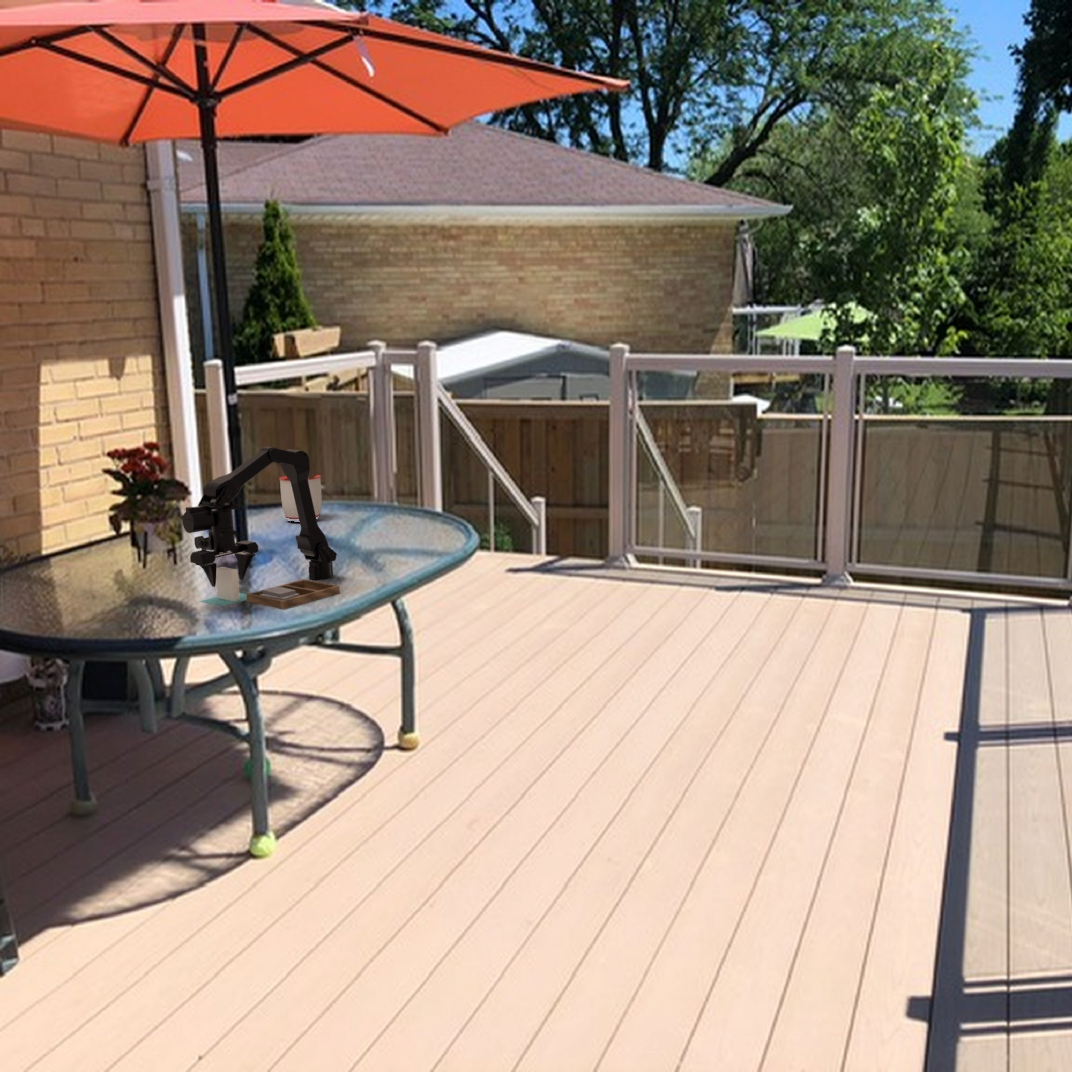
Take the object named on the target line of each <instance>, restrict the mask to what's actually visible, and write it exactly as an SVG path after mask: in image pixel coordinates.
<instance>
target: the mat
mask: <svg viewBox="0 0 1072 1072" xmlns="http://www.w3.org/2000/svg"><path fill="white" fill-rule="evenodd" d="M239 595H240V600H238V601H229V600H225V599H220V598H218V596H215V597H211V598H207V599H204V600H199V602H200V603H204V604H209V605H214V606H218V607H225V606H226V607H227V606H230V605H233V604H237V603H240V602H244V601H245V602H246V601H247V596H246V593H242V592H239Z"/></svg>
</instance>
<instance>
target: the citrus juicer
mask: <svg viewBox="0 0 1072 1072" xmlns="http://www.w3.org/2000/svg"><path fill="white" fill-rule="evenodd" d="M321 477H322V476H321V475H320V474H316V475H315V476H314V477H313V478H309V476H308V483H309V487H310V492H311V496H312V501H313V506H314V510H315V515H316V517H318V516H319V517H320V515H321V510H322V501H323V500H322V499H323V498H322V485H321V483H322V482H321V481H322V480H321ZM279 485H280V486H279V487H280V499H281V506H282V510H283V514H284V517H285V519H286V518H289V519H299V517H298V512H297V508H296V503H295V499H294V495H293V490H292V486H291V482H290V480H289V479H288V478H287V476H286V475H284V476H280V477H279Z"/></svg>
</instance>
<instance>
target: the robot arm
mask: <svg viewBox="0 0 1072 1072" xmlns="http://www.w3.org/2000/svg"><path fill="white" fill-rule="evenodd" d="M273 463H274V464H275V463H276V464H279V465H280V466H281V469H282V471H283V474H284V476H287V478H288V479H289V480H290V482H291V486H292V490H293V495H294V499H295V503H296V508H297V512H298V517H299V521H300V523H299V525H300V531H299V534H297V535H295V540H296V544H297V550H300V551H299V552H300V553H301V554H303V556H304V558H305V560H307V561H308V579H309V580H310V581H315V582H317V581H324V580H329V579H332V578H333V577H334V569H333V568H334V567H333V562H336V559H337V556H338V553H337V552H336V551H334V549H332V548H331V547H330V545H329V542H328V540H327V537H326V535H325V533H324V532H323V531H322V529H321V528H320V527H319V525H318V520H317V519H316V515H315V510H314V506H313V501H312V496H311V492H310V487H309V483H308V477H309V476H310V472H311V459H310V456H309V454H308V453H307V452H306V451H304V450H299V449H291V448H290V449H289V448H288V449H285V450H284V449H279V448H277V447H274V446H263V447H262V448H260V449H259V451H257V452H256V453H255V454H254V455H252V456H251V457H250V458H249V459H247V460H246V461H244V462H243V463H242V464H240V465H239V466H238V467H236V468H234V470H233V471H231V472H229V473H227V474H224V475H221V476H218V477H217V478H215V479H212V480H210V481H209V482H207V484H206V485H205V490H204V493H203V494H202V497H201V498H200V500H199V502H198V504H197V506H196V505H195V506H186V507H185V512H184V514H183V517H182V519H181V522H182V526H183V529H184V531H186V533H188V534H193V533H197V532H203V531H209V532H208V537H204V536H203V535H199V536H196V537H194V540H193V541H194V547H195V548H196V549H197V550H196V551H192V552H191V554H190V556H189V559H190V563H192V564H195V565H196V566H200V568H201V569H202V570H203V571H204V573H205V575H206V577H207V579H208V581H209V584H210V585H211V587H212V588H215V587H216V586H217V582H216V568H217V565H218V564H217V562H215V561H216V558H221V557H224V556H225V557H226V556H229V555H234V556H235V558H236V560H237V571H238V580H240V581H243V580H244V579H245V575H246V573H247V570H248V568H249V567H250V566H249V565H250V564H251V561H252V559H254V557H256V553H259V552H260V550H259V544H258V543H257V542H256V541H252V540H241V541H238V542H236V538H235V535H238V530H237V529H235V528H234V515H233V511H234V510H239V509H240V508H241V507H240V505H238V504H237V503H235V501H234V499H235V498H236V497H237V496H238V495H239V493H240V492H241V489H242V487H243V486H244V485H245V484H246V483H247V482H249V481H250V480H252V479H253V478H254V477H256V476H257V475H258V474H260V473H261V472H262V471H263V470H264V469H266V468H267V467H268V466H270V465H271V464H273ZM198 549H199V550H198Z"/></svg>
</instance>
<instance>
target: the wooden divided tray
mask: <svg viewBox="0 0 1072 1072" xmlns="http://www.w3.org/2000/svg"><path fill="white" fill-rule="evenodd" d="M278 586H279V587H283V588H287V589H292V590H295V593H296V594H299V596H297V597H294V598H290V599H287V600H279V599H274V598H269V597H264V596H260V595H261V594H263V593H262V590H263V589H261V590H257V591H254V592H250V593H247V594H246V593H245V594H246V596H247V600H246V602H248V603H252V604H256V605H262V606H266V607H271V608H275V609H280V610H285V609H289V608H292V607H295V606H296V607H298V606H300V605H303V604H306V603H310V602H313V601H317V600H320V599H323V598H328V597H331V596H335V595H339V594H340V593H341V592H340V590H341V589H340V585H337V584H330V583H325V582H320V581H314V580H308V579H299V580H295V581H292V582H287V583H284V584H280V585H278Z"/></svg>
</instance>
